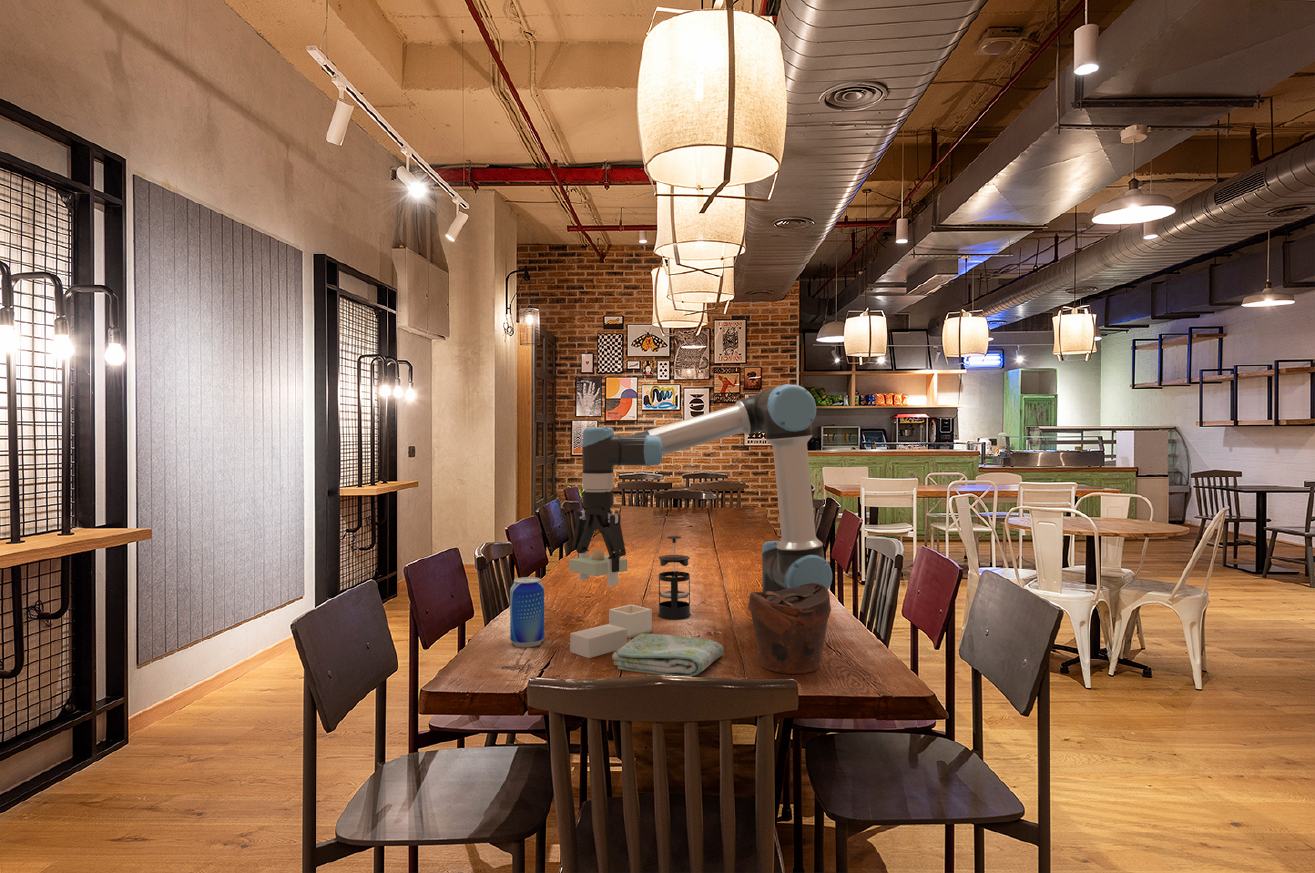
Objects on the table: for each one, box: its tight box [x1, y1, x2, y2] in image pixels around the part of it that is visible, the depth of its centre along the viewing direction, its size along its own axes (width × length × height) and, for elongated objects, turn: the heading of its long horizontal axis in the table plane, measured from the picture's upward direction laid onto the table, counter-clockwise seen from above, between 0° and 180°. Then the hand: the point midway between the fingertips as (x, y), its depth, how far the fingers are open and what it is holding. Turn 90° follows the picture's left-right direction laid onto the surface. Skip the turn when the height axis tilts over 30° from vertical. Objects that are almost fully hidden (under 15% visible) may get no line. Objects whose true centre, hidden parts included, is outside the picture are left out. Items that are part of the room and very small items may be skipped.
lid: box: [568, 549, 628, 577], centre depth 173 cm, size 10×10×5 cm
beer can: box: [509, 576, 545, 648], centre depth 178 cm, size 8×8×16 cm
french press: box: [657, 535, 692, 621], centre depth 206 cm, size 12×9×23 cm
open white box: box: [608, 604, 653, 639], centre depth 188 cm, size 8×8×6 cm
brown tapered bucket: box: [747, 583, 832, 675], centre depth 160 cm, size 18×20×18 cm
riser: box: [569, 623, 628, 659], centre depth 173 cm, size 7×12×4 cm, turn 135°
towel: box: [611, 633, 725, 677], centre depth 163 cm, size 18×21×5 cm
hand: (598, 582), depth 173 cm, fingers closed on lid, 10 cm apart
